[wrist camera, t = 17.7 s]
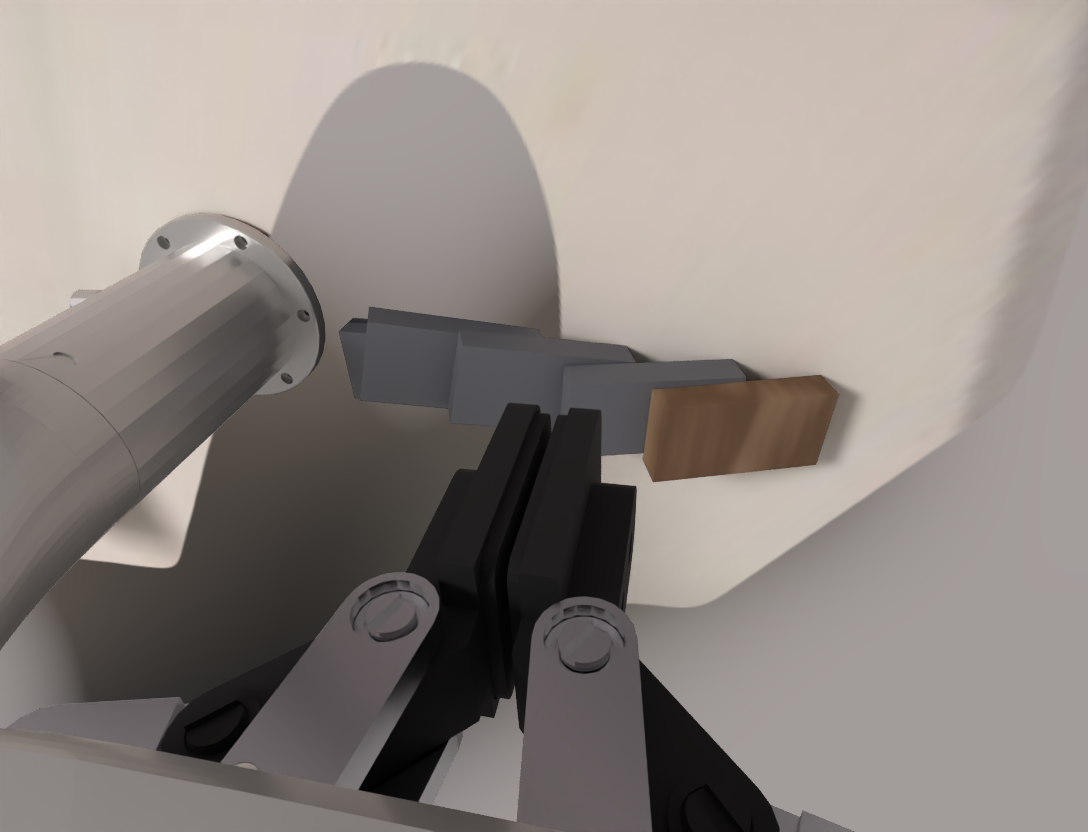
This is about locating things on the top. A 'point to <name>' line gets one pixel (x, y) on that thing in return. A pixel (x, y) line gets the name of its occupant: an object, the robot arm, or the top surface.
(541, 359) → the domino
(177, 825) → the robot arm
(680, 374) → the domino
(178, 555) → the top surface
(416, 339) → the domino
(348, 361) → the domino
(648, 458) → the domino
